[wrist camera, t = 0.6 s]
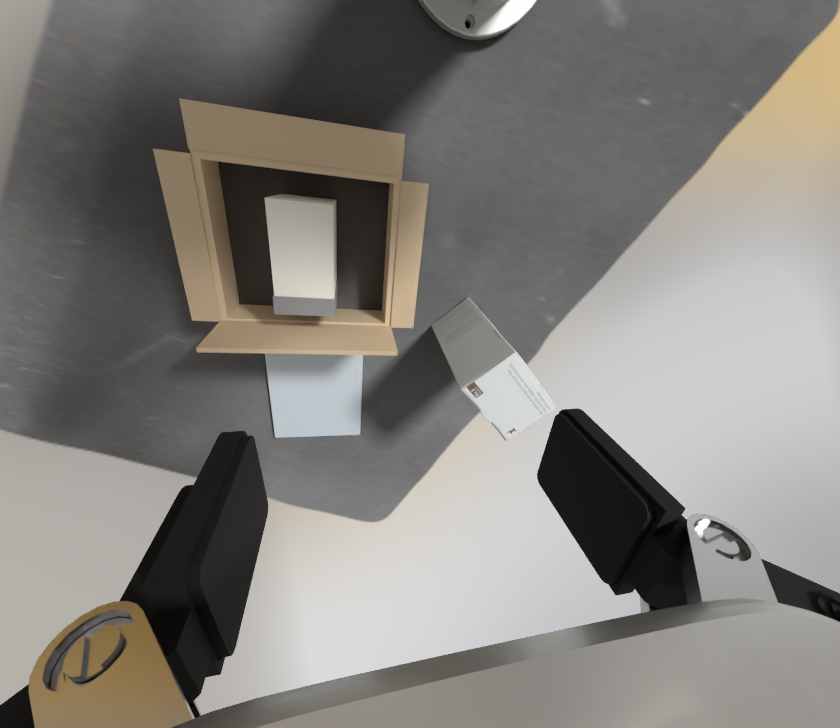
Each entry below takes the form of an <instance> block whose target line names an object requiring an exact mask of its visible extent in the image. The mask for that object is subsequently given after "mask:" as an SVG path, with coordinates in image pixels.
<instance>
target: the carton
mask: <svg viewBox="0 0 840 728" xmlns="http://www.w3.org/2000/svg"><path fill="white" fill-rule="evenodd" d="M179 100H180V106H181V111H182V117H183V122H184V127H185V133H186V138H187V144H188V148H189V149H190V153H184V152H176V151H169V150H161V149H153V152H154V156H155V161H156V165H157V169H158V174H159V178H160V183H161V187H162V191H163V196H164V200H165V204H166V209H167V213H168V218H169V222H170V226H171V231H172V235H173V239H174V244H175V248H176V253H177V257H178V261H179V266H180V270H181V274H182V279H183V283H184V288H185V292H186V296H187V301H188V305H189V309H190V314H191V318H192V321H215V322H219V323H218V324H217V325H216V326H215V327H214V328H213V330H212V331H211V332H210V333H209V334H208V335H207V336H206V337H205V339H204V340H203V341H202V342H201V343H200V344H199V345H198V346H197V347H196V350H197V352H201V353H266V354H332V355H397V352H398V351H397V348H396V344H395V340H394V337H393V333H392V329H391V327H394V328H413V324H414V315H415V306H416V297H417V288H418V279H419V269H420V260H421V251H422V242H423V233H424V224H425V215H426V206H427V197H428V188H429V184H424V183H416V182H409V181H401V180H402V171H403V157H404V144H405V134H400V133H393V132H387V131H381V130H375V129H368V128H362V127H356V126H349V125H343V124H337V123H331V122H324V121H318V120H312V119H306V118H299V117H293V116H287V115H281V114H274V113H268V112H262V111H256V110H249V109H243V108H237V107H231V106H224V105H218V104H212V103H205V102H199V101H193V100H187V99H180V98H179ZM218 161H219V162H227V163H235V164H243V165H251V166H259V167H267V168H275V169H283V170H290V171H298V172H306V173H314V174H322V175H330V176H338V177H346V178H354V179H361V180H369V181H377V182H385V183H389V199H388V216H387V233H386V249H385V266H384V282H383V299H382V311H381V310H358V309H336V316H335V317H330V316H305V315H280V314H274V306H268V305H245V304H239V297H238V291H237V284H236V278H235V271H234V264H233V258H232V251H231V245H230V238H229V232H228V225H227V218H226V212H225V205H224V199H223V192H222V186H221V179H220V172H219V166H218Z"/></svg>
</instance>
